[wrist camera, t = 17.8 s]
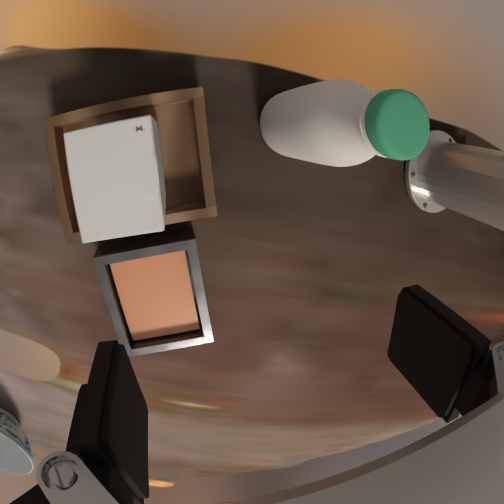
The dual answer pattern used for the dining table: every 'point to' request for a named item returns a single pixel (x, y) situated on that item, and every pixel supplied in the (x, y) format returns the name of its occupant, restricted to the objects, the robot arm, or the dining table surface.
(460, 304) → the dining table surface
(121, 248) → the frame
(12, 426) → the chinaware
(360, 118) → the milk bottle
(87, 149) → the small box
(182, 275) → the spring pad
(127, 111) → the walnut trough
